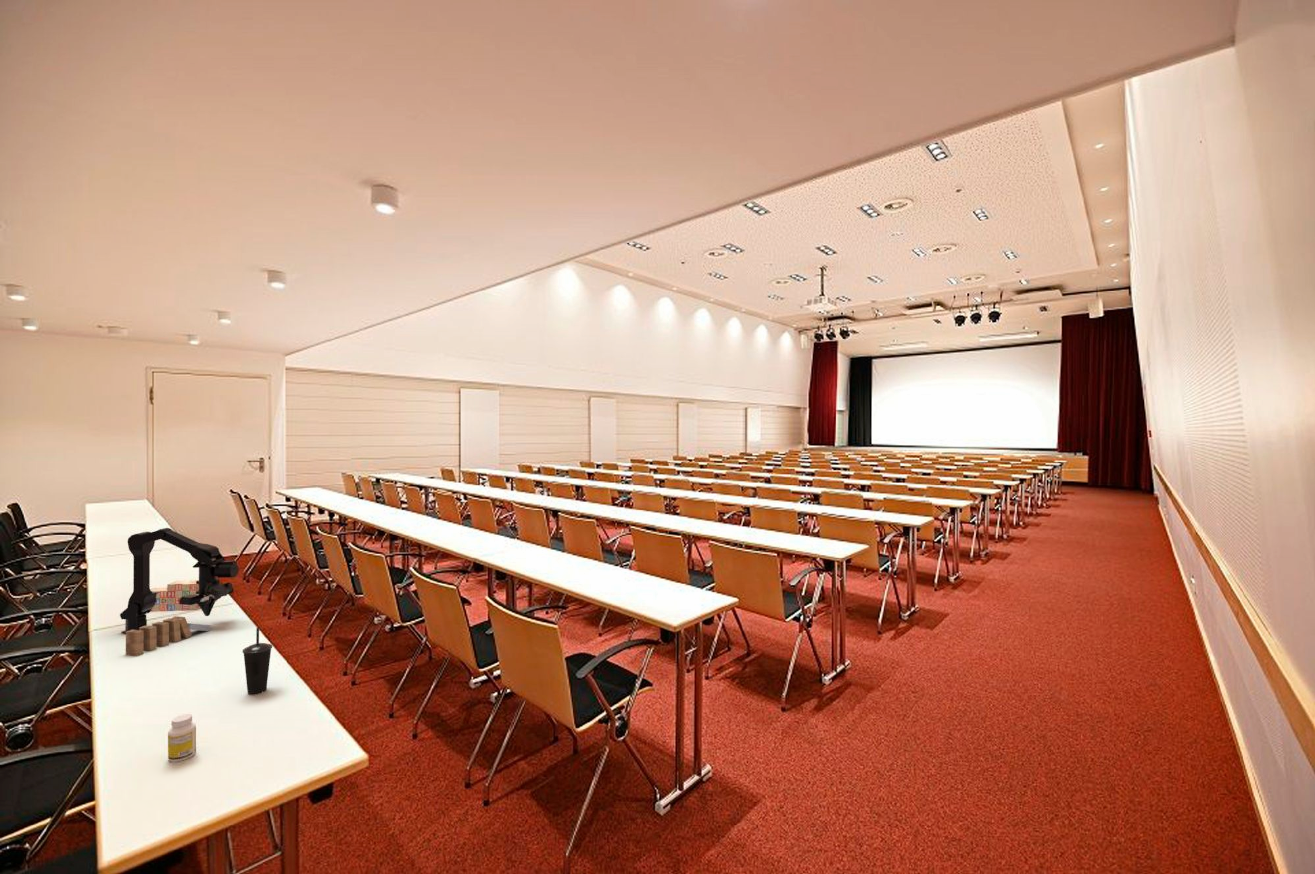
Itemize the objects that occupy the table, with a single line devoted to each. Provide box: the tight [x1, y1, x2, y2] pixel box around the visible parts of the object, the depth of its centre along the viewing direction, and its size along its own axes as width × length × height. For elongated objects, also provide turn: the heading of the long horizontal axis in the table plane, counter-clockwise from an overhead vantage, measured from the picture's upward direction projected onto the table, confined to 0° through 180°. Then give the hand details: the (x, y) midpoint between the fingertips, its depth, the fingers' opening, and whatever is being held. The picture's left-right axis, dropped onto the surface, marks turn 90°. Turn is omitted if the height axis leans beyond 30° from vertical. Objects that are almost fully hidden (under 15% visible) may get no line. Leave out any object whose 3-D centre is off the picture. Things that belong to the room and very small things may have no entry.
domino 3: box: [151, 621, 170, 648], centre depth 215 cm, size 5×2×8 cm, turn 79°
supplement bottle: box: [167, 713, 197, 763], centre depth 143 cm, size 5×5×10 cm
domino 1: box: [125, 630, 144, 657], centre depth 207 cm, size 5×2×8 cm, turn 79°
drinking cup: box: [242, 627, 273, 696], centre depth 179 cm, size 8×8×20 cm
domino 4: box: [162, 617, 182, 644], centre depth 219 cm, size 5×2×8 cm, turn 79°
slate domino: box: [187, 622, 212, 632], centre depth 228 cm, size 5×2×8 cm
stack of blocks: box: [150, 579, 205, 612], centre depth 259 cm, size 21×6×12 cm, turn 98°
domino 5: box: [171, 615, 193, 640], centre depth 223 cm, size 5×2×8 cm, turn 79°
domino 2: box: [139, 625, 157, 653], centre depth 211 cm, size 5×2×8 cm, turn 79°
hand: (207, 615), depth 233 cm, fingers closed
